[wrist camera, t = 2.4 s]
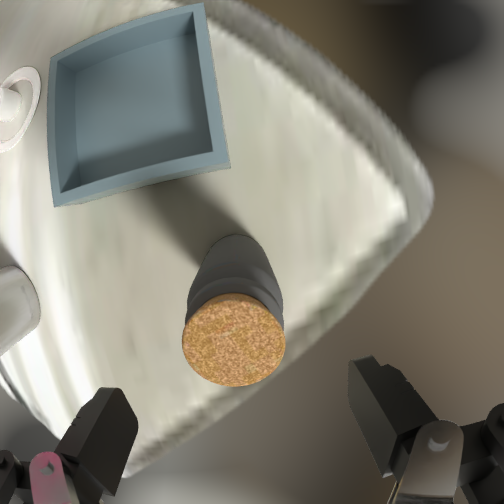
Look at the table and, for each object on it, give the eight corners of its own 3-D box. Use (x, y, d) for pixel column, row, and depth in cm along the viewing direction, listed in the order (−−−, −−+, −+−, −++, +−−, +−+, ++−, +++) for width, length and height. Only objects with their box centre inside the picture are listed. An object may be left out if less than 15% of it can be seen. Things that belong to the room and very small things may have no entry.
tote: (81, 204, 25) (54, 207, 20) (73, 72, 21) (50, 57, 16) (230, 168, 25) (228, 161, 20) (208, 28, 21) (203, 2, 16)
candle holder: (26, 157, 23) (3, 155, 19) (-19, 149, 22) (-38, 148, 18) (56, 65, 21) (37, 54, 17) (6, 71, 20) (-11, 64, 16)
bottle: (215, 299, 27) (193, 402, 13) (199, 242, 26) (151, 302, 11) (273, 285, 27) (306, 381, 13) (259, 227, 26) (285, 272, 11)
